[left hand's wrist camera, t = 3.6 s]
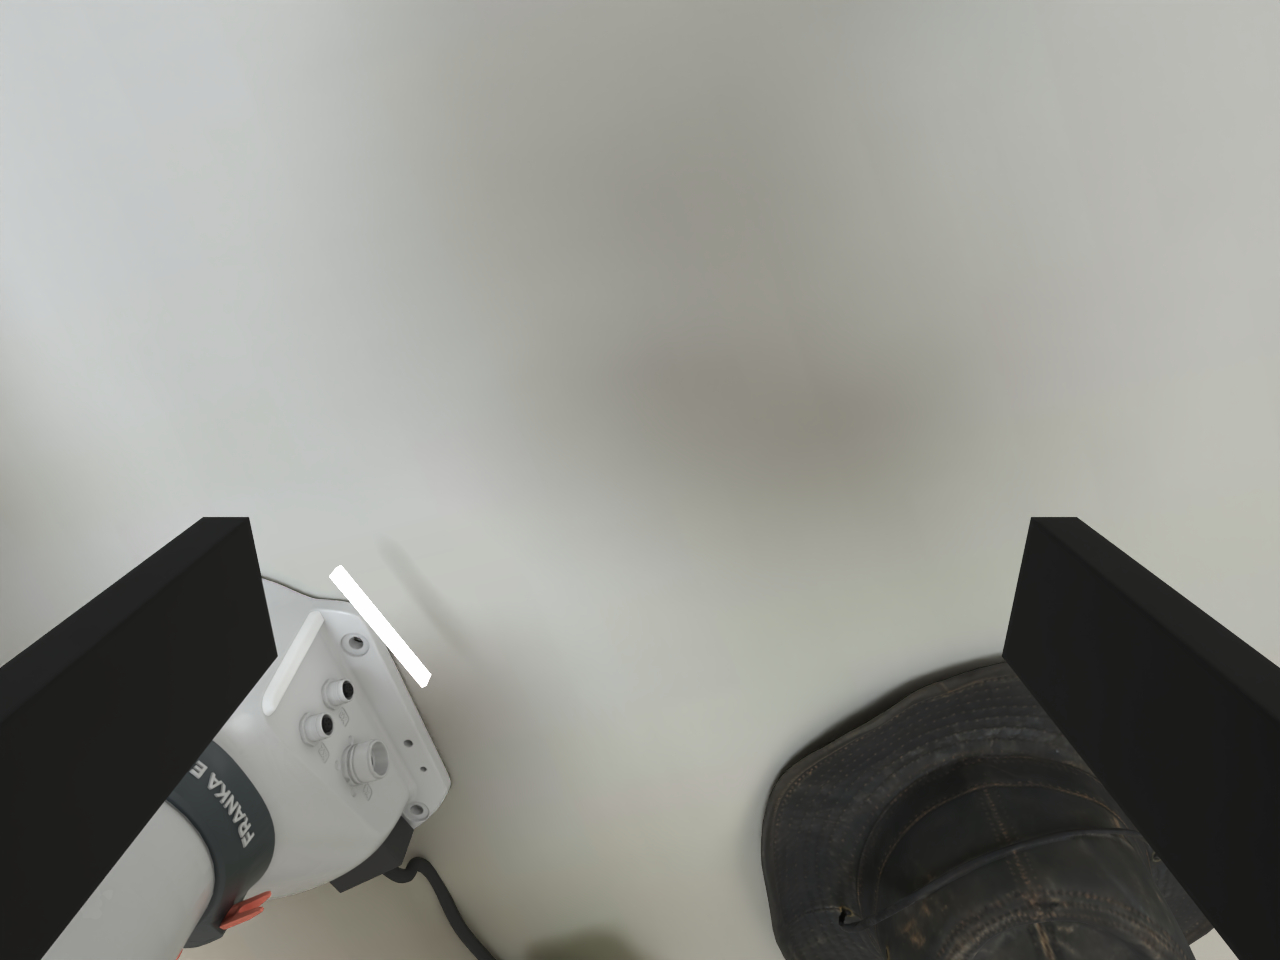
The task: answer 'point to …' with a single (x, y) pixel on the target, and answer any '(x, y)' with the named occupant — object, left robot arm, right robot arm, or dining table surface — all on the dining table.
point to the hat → (964, 842)
